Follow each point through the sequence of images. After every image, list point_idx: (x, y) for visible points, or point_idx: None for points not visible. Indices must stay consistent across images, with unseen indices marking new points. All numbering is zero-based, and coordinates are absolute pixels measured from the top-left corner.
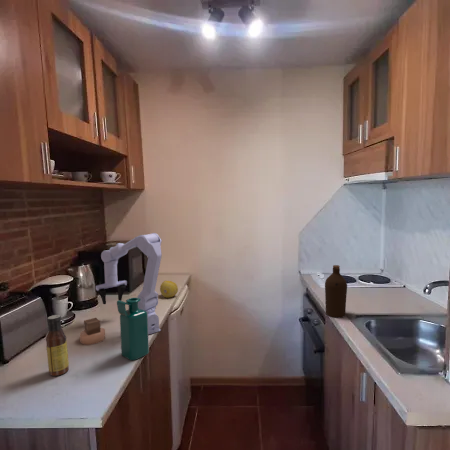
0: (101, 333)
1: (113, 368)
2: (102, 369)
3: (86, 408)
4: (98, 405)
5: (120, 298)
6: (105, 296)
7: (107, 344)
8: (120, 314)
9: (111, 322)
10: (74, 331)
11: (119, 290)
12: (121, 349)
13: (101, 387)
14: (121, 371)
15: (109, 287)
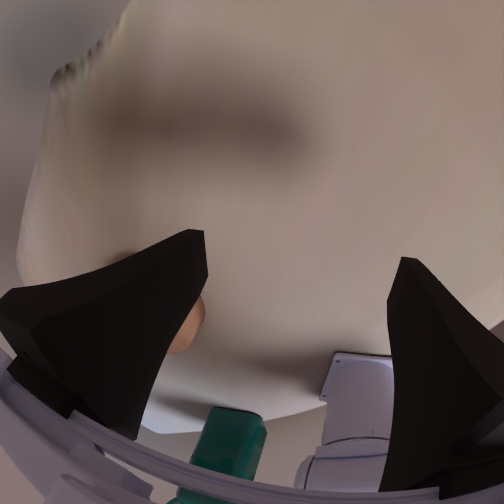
0: (173, 351)
1: (185, 414)
2: (167, 404)
3: (144, 423)
4: (156, 428)
5: (389, 332)
6: (160, 361)
7: (196, 358)
8: (174, 498)
9: (302, 181)
10: (103, 163)
11: (417, 409)
12: (206, 421)
13: (161, 420)
14: (195, 424)
15: (186, 474)
